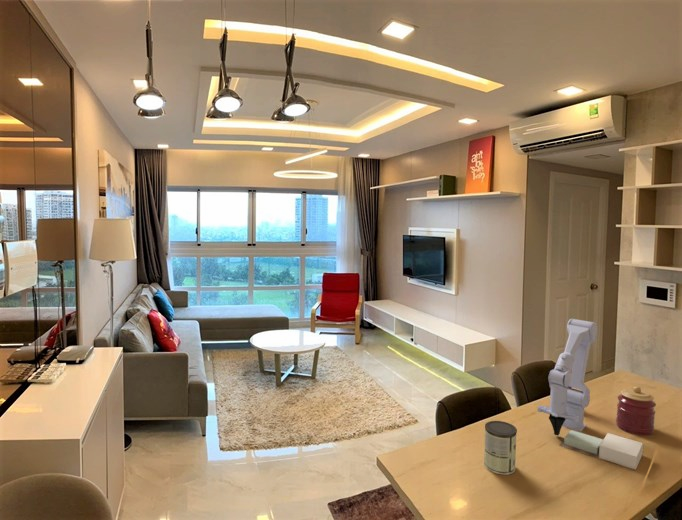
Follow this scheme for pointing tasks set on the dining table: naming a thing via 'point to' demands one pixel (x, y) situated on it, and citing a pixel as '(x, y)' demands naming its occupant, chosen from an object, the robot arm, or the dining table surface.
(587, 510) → the dining table surface
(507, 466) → the coffee can
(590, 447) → the sage tile
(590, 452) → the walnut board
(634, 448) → the white rounded block
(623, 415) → the canister
